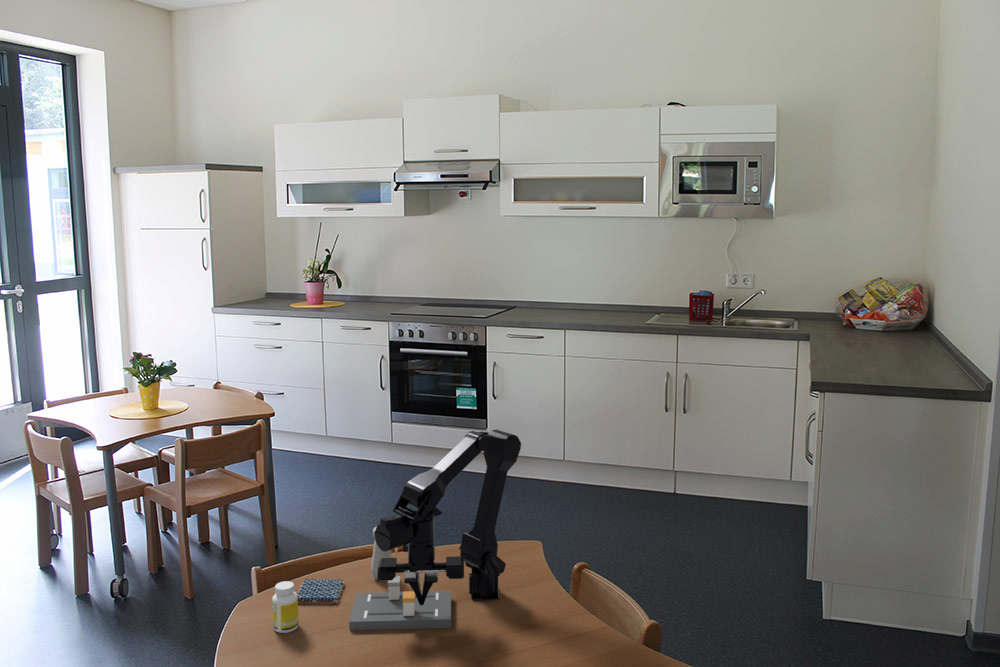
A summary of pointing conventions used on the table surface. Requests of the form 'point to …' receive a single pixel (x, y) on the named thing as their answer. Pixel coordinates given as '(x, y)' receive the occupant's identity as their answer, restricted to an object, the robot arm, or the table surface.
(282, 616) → the supplement bottle
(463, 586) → the table surface
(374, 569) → the salt shaker
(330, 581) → the woven mat
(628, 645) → the table surface
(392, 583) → the grey fader
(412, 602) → the orange fader
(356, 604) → the console
